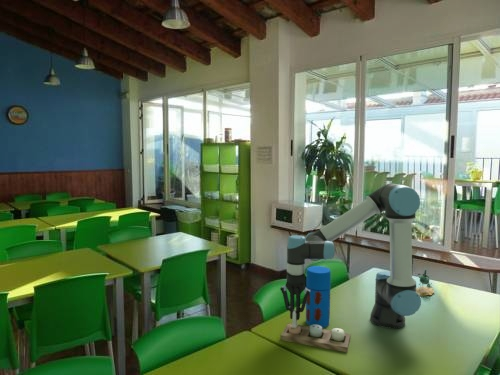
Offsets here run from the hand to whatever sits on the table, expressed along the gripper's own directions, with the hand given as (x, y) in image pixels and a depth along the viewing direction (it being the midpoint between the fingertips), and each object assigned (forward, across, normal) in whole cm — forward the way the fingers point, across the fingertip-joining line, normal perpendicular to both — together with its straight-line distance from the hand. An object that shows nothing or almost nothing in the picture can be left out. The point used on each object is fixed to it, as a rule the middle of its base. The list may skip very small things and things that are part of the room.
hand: (294, 326), depth 158 cm
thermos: (+4, -7, -16) cm, 18 cm away
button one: (+2, -18, 0) cm, 18 cm away
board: (+4, -9, 0) cm, 10 cm away
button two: (+2, -9, 0) cm, 9 cm away
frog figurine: (+4, -56, -75) cm, 94 cm away
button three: (+4, 0, 0) cm, 4 cm away
